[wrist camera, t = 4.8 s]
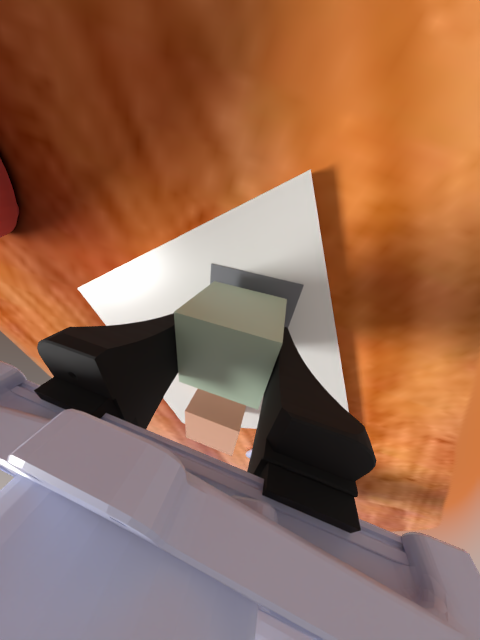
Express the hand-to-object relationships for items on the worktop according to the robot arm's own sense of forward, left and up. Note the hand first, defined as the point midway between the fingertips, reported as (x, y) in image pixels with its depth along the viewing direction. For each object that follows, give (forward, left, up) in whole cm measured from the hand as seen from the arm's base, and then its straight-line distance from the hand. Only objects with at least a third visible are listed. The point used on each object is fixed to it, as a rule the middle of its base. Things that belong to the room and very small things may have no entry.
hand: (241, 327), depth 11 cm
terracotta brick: (-3, +10, -2) cm, 11 cm away
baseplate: (0, +7, -3) cm, 7 cm away
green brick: (0, 0, -1) cm, 1 cm away
